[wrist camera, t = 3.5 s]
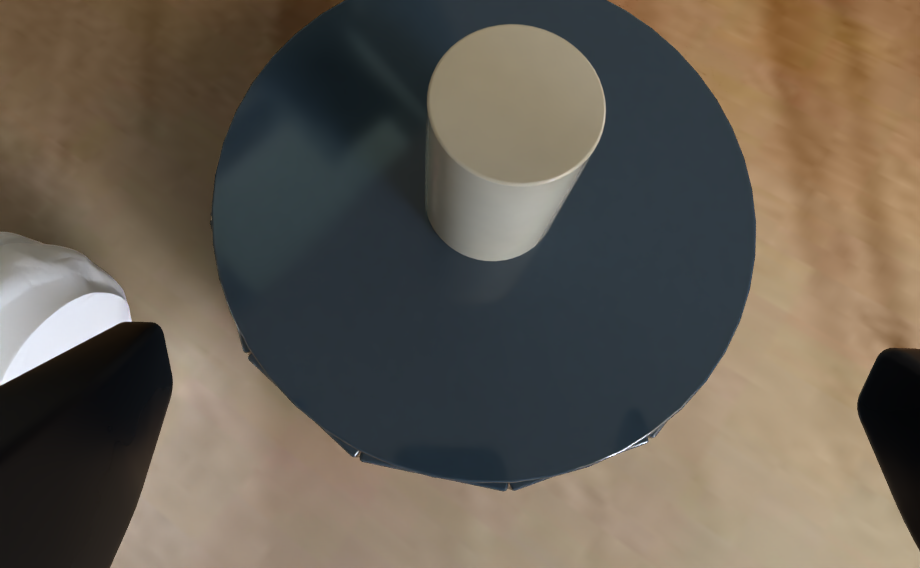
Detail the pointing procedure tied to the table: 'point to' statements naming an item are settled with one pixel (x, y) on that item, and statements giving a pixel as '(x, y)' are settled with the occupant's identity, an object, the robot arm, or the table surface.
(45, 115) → the table surface
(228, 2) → the table surface
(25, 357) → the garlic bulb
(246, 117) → the cover
